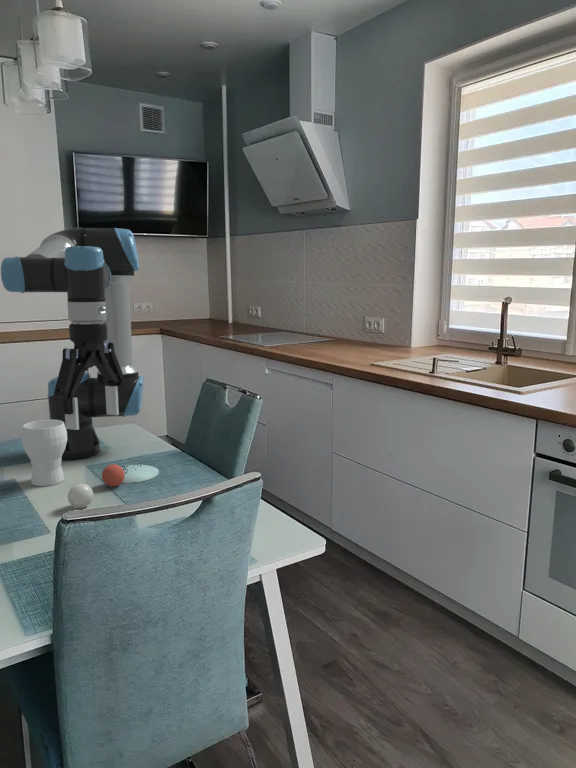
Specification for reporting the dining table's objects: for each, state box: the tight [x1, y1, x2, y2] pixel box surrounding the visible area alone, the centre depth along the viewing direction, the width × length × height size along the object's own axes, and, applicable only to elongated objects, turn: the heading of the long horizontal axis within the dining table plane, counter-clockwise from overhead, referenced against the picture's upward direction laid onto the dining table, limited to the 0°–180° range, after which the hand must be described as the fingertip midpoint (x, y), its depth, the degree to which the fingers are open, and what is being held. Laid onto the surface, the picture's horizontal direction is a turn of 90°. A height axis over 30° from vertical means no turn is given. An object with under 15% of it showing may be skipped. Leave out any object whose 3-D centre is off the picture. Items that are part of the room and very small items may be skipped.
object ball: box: [101, 463, 125, 488], centre depth 146 cm, size 6×6×6 cm
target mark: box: [121, 464, 160, 484], centre depth 155 cm, size 14×14×1 cm
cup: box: [20, 419, 67, 487], centre depth 148 cm, size 11×11×15 cm
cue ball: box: [67, 483, 94, 509], centre depth 132 cm, size 6×6×6 cm
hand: (93, 421), depth 125 cm, fingers open, 13 cm apart
